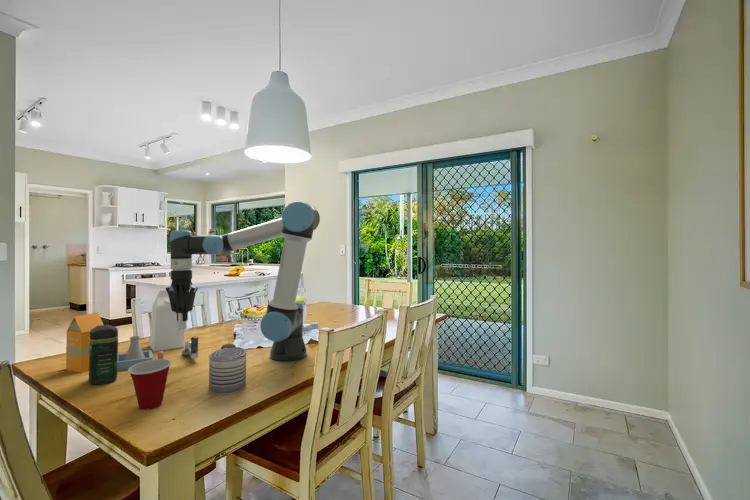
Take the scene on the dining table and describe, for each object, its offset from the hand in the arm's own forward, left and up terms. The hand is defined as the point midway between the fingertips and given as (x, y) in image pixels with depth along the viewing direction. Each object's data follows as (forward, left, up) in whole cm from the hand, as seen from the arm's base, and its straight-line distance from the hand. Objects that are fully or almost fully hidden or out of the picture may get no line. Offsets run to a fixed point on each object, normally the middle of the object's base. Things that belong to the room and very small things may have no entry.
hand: (182, 329), depth 146 cm
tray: (+8, +16, -13) cm, 22 cm away
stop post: (+5, +7, -13) cm, 16 cm away
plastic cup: (-38, +13, -14) cm, 43 cm away
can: (-36, -9, -14) cm, 40 cm away
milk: (+30, +3, -14) cm, 33 cm away
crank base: (+11, -4, -13) cm, 18 cm away
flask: (+8, +16, -13) cm, 22 cm away
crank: (+5, -4, -12) cm, 13 cm away
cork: (-23, -12, -14) cm, 30 cm away
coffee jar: (-7, +25, -14) cm, 29 cm away
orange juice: (+12, +31, -14) cm, 36 cm away
